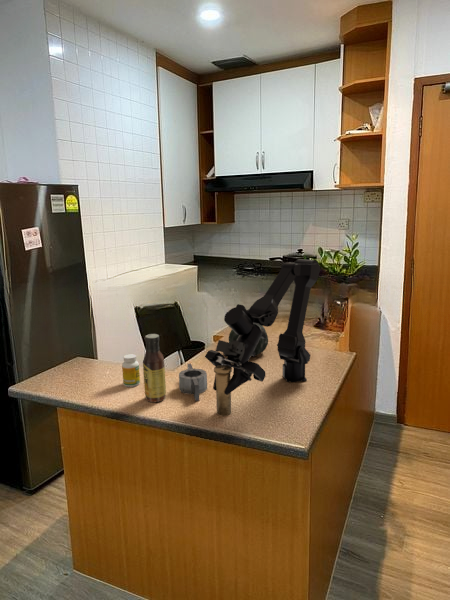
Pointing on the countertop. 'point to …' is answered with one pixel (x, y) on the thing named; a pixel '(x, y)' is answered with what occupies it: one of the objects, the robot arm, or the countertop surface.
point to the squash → (260, 346)
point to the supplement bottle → (130, 371)
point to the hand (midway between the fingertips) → (219, 391)
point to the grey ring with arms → (193, 381)
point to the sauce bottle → (154, 370)
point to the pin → (223, 389)
